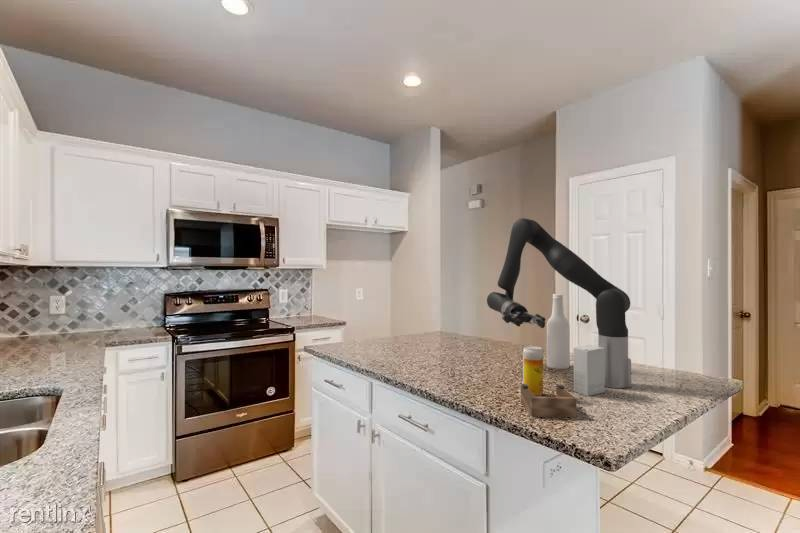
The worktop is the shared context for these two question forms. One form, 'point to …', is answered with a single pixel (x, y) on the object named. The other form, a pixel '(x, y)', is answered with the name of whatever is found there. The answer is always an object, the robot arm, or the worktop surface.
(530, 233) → the robot arm
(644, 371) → the worktop surface
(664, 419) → the worktop surface
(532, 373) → the beer can
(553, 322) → the alcohol
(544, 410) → the holder
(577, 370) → the skincare box
